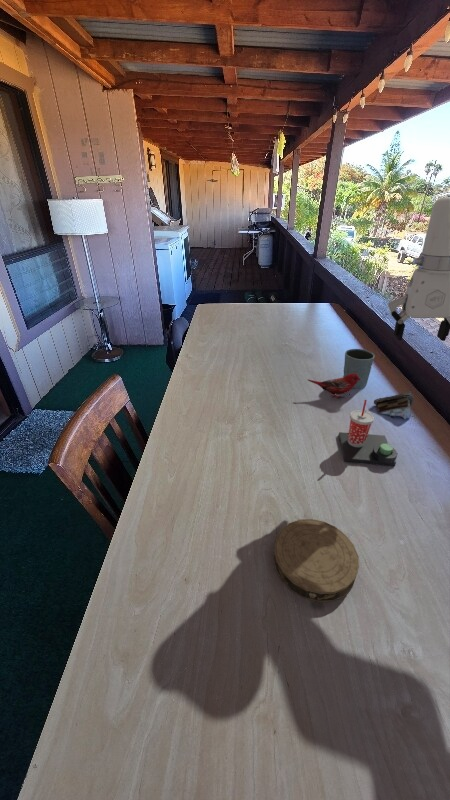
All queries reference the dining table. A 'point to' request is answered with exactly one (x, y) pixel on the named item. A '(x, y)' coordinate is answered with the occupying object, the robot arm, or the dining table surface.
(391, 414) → the chocolate cake
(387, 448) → the tare button
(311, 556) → the wood log slice
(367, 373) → the green cylindrical pot
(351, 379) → the decorative bird figurine
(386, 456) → the scale
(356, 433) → the beverage cup
